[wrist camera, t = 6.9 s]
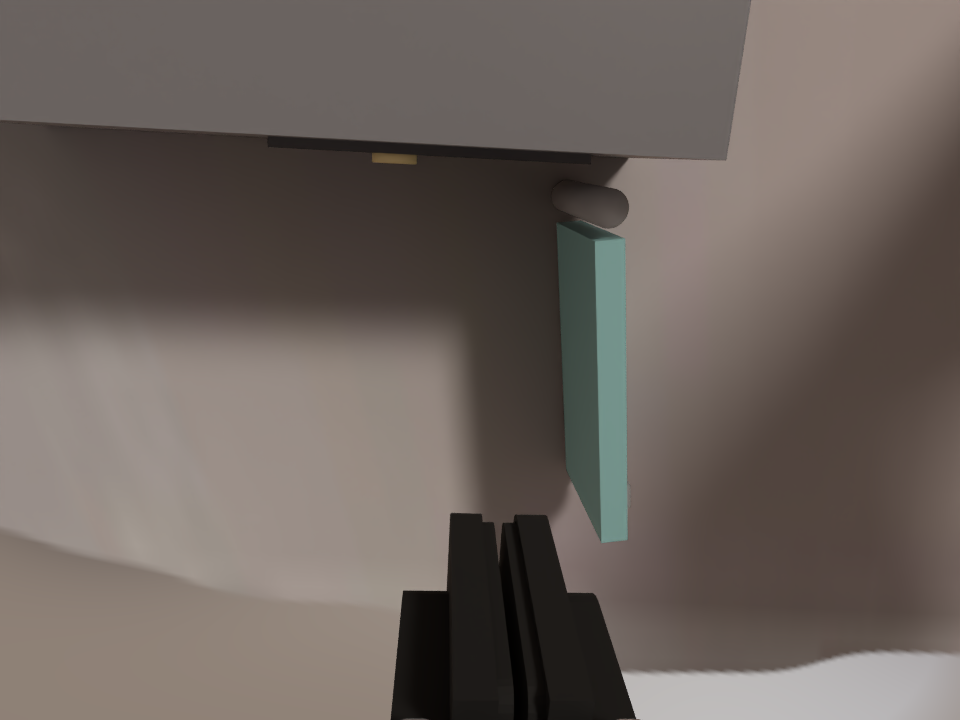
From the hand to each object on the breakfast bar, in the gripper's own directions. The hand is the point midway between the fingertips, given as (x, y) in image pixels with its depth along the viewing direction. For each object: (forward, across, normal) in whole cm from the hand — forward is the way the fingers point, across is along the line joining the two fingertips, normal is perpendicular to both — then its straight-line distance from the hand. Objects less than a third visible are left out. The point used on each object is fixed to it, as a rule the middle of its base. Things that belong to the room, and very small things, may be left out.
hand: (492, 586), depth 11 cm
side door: (+12, -4, -1) cm, 13 cm away
